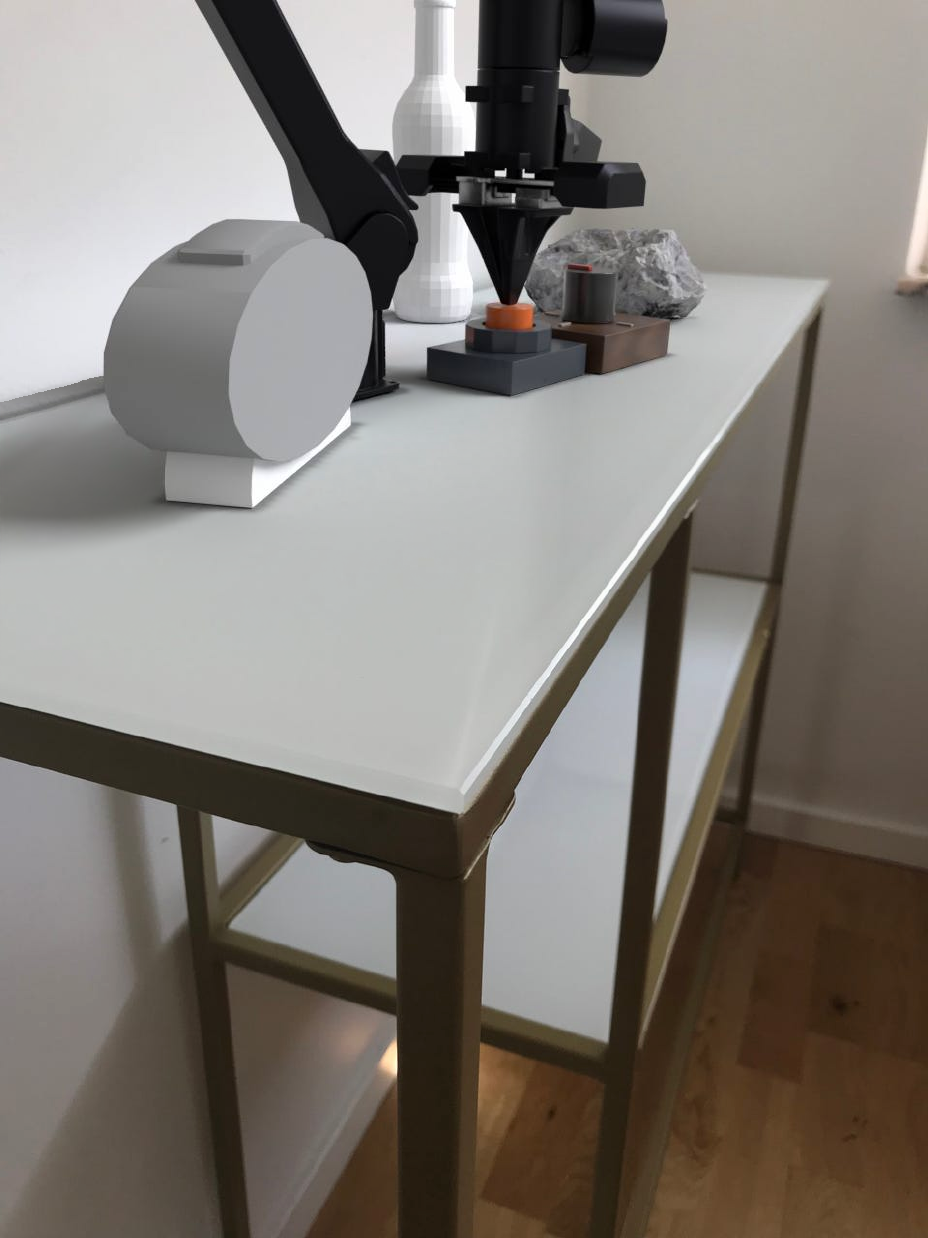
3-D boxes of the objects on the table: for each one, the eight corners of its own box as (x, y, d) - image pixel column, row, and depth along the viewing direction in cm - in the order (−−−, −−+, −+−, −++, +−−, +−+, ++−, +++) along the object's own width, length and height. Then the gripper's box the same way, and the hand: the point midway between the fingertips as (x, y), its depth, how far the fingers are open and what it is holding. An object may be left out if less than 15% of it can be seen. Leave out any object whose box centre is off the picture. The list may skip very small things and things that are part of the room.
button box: (511, 395, 74) (513, 339, 73) (426, 379, 79) (426, 325, 77) (584, 374, 82) (588, 322, 80) (503, 360, 86) (504, 310, 84)
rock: (717, 299, 111) (719, 202, 106) (693, 350, 100) (694, 246, 95) (555, 299, 118) (548, 208, 112) (516, 347, 107) (507, 249, 101)
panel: (602, 374, 82) (605, 333, 80) (500, 356, 87) (501, 318, 86) (667, 354, 90) (671, 317, 88) (570, 339, 95) (572, 304, 94)
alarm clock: (287, 407, 70) (275, 205, 64) (374, 413, 69) (371, 208, 63) (117, 520, 49) (80, 236, 44) (239, 531, 48) (216, 242, 43)
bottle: (486, 316, 106) (496, -25, 93) (444, 327, 100) (448, -37, 87) (422, 308, 110) (422, -20, 97) (376, 318, 104) (371, -32, 91)
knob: (623, 319, 87) (627, 266, 86) (596, 325, 84) (601, 270, 82) (579, 313, 90) (582, 261, 88) (551, 319, 87) (554, 265, 85)
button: (514, 334, 76) (515, 310, 76) (475, 328, 78) (476, 305, 78) (541, 328, 79) (542, 305, 78) (503, 323, 81) (504, 300, 80)
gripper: (694, 75, 72) (669, 307, 78) (481, 78, 82) (475, 282, 89) (612, 66, 64) (593, 324, 70) (388, 70, 74) (389, 295, 81)
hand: (509, 304), depth 78 cm, fingers closed
